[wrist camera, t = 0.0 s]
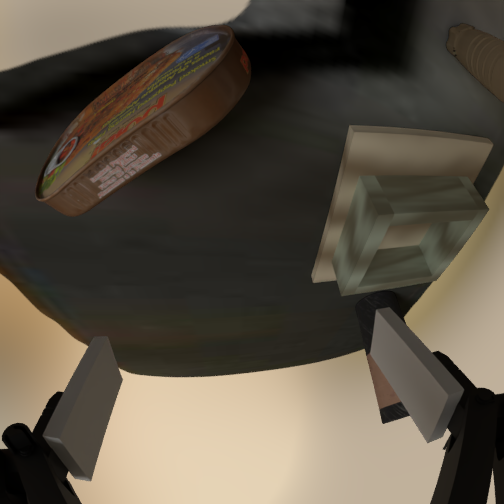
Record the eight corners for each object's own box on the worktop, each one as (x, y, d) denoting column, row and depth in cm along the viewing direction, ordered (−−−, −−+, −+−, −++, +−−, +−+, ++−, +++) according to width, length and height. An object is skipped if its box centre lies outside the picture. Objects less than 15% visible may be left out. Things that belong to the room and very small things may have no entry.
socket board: (349, 125, 23) (376, 170, 19) (488, 138, 24) (519, 176, 20) (311, 276, 40) (320, 315, 37) (416, 262, 41) (429, 296, 38)
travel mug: (345, 306, 50) (373, 426, 39) (384, 285, 46) (421, 411, 34) (366, 314, 55) (393, 420, 43) (402, 296, 50) (435, 406, 39)
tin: (225, 10, 15) (235, 49, 10) (250, 49, 17) (273, 109, 12) (55, 135, 20) (14, 218, 15) (82, 159, 22) (52, 244, 17)
